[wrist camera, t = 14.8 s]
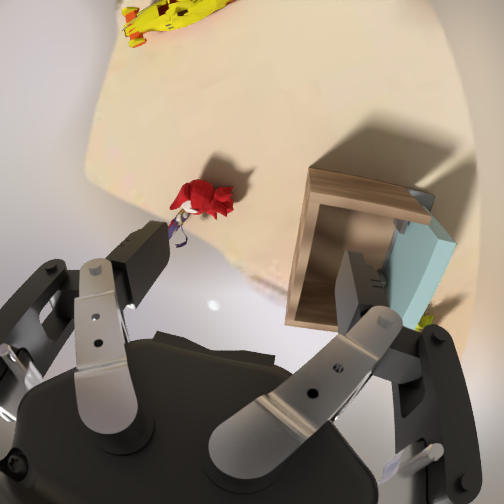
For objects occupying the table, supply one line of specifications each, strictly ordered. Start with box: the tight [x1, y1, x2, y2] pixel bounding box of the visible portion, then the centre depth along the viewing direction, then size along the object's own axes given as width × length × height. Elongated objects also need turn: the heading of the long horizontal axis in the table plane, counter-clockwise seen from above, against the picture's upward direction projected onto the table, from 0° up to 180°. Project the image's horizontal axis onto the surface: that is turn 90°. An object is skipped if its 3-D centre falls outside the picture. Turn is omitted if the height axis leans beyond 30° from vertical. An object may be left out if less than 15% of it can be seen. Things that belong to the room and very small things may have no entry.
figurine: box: [168, 179, 234, 247], centre depth 43 cm, size 6×8×15 cm
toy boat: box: [122, 0, 233, 48], centre depth 25 cm, size 6×18×10 cm, turn 104°
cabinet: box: [285, 168, 435, 332], centre depth 39 cm, size 20×21×11 cm
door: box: [384, 206, 457, 330], centre depth 37 cm, size 16×4×12 cm, turn 175°
